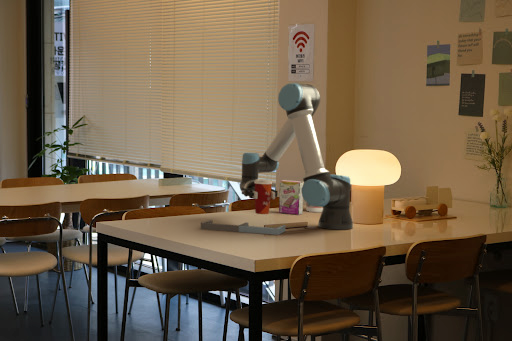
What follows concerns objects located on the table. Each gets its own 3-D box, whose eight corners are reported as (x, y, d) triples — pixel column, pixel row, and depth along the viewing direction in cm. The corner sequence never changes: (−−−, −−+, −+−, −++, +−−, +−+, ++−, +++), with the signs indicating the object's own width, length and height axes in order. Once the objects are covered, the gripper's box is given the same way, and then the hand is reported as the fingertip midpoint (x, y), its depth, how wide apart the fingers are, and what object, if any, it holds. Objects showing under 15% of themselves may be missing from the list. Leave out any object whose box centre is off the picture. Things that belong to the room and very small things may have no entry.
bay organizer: (285, 231, 311) (285, 225, 311) (278, 234, 301) (278, 228, 301) (209, 225, 321) (209, 219, 321) (200, 228, 311) (200, 223, 311)
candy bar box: (278, 213, 369) (279, 180, 368) (282, 212, 373) (283, 179, 372) (298, 215, 364) (299, 181, 362) (303, 214, 368) (304, 181, 367)
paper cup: (269, 215, 305) (270, 181, 304) (251, 213, 307) (252, 180, 306) (272, 212, 313) (274, 179, 312) (254, 211, 314) (256, 178, 313)
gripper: (275, 198, 329) (288, 205, 307) (231, 197, 325) (241, 204, 303) (275, 181, 329) (288, 187, 306) (232, 180, 324) (242, 186, 302)
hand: (265, 195), depth 304 cm, fingers closed on paper cup, 7 cm apart
